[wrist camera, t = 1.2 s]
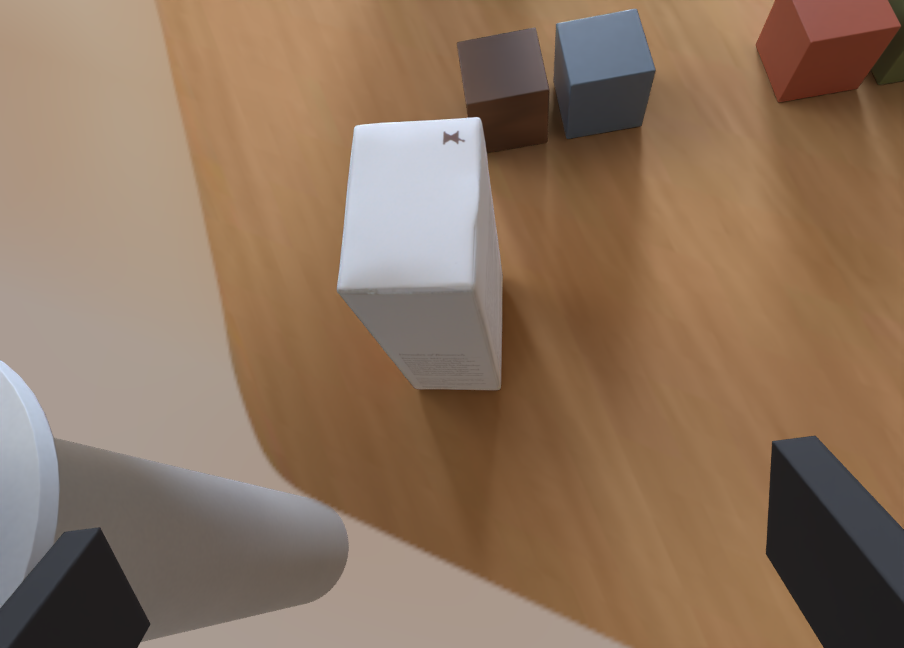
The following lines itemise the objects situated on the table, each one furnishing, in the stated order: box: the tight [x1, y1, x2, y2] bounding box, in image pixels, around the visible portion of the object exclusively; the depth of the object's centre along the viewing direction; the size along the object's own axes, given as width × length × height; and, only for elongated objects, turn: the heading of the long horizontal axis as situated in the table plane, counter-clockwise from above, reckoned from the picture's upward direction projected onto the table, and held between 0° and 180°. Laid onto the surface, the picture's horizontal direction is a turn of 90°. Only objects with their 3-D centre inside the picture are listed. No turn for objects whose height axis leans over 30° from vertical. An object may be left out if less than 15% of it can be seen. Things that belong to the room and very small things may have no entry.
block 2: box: [554, 9, 656, 139], centre depth 31 cm, size 4×4×4 cm
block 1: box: [457, 28, 549, 153], centre depth 31 cm, size 4×4×4 cm
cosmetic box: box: [337, 117, 503, 390], centre depth 23 cm, size 6×4×12 cm
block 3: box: [756, 0, 901, 102], centre depth 30 cm, size 4×4×4 cm
